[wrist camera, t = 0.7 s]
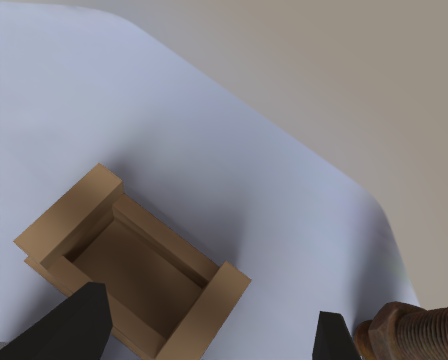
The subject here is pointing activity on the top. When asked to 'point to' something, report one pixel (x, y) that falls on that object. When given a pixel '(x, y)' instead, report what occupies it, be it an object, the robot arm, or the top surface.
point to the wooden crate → (133, 269)
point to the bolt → (404, 334)
